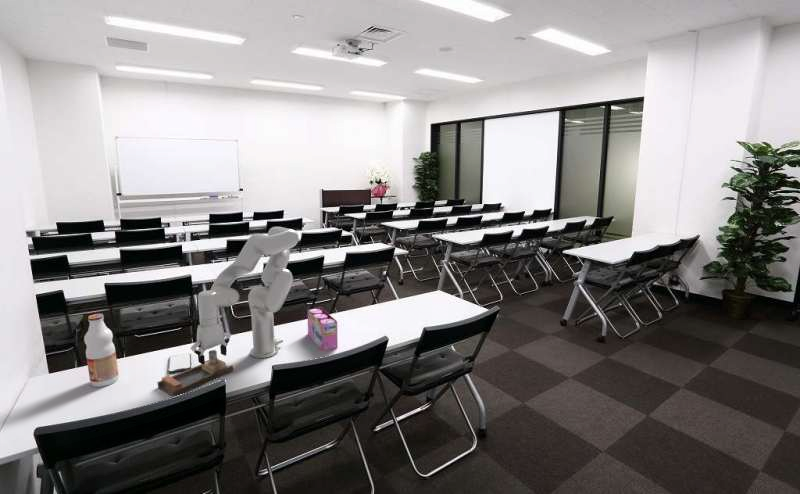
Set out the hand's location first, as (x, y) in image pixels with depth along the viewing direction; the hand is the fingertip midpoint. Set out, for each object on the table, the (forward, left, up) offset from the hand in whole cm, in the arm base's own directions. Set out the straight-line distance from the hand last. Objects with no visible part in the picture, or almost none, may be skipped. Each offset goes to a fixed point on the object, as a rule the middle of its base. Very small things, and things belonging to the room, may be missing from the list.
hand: (213, 358), depth 174 cm
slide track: (+7, 0, -6) cm, 10 cm away
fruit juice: (+30, -28, -6) cm, 42 cm away
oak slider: (0, 0, -5) cm, 5 cm away
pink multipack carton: (-49, +14, -6) cm, 52 cm away
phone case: (+5, -18, -7) cm, 20 cm away
